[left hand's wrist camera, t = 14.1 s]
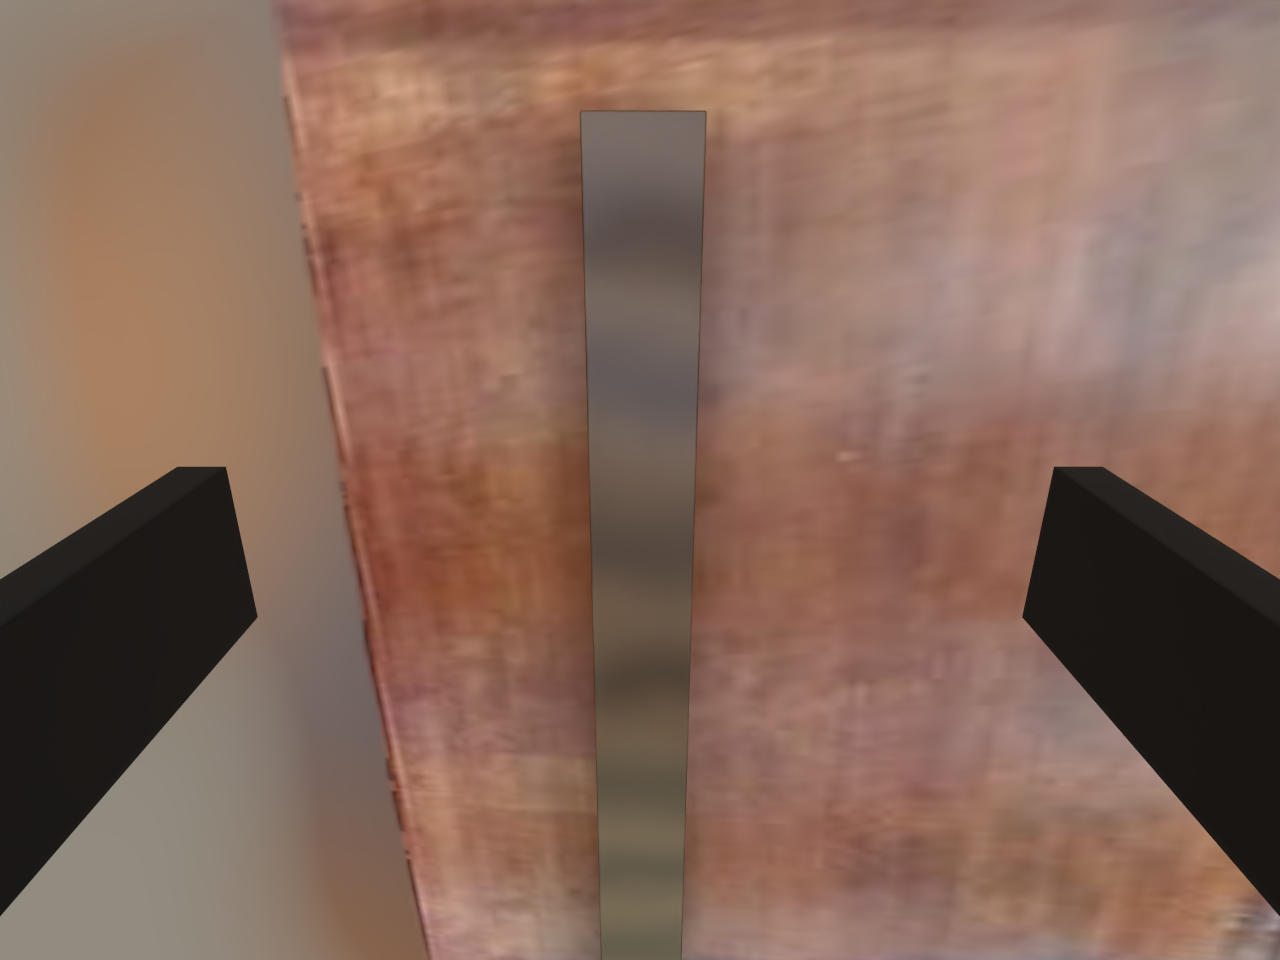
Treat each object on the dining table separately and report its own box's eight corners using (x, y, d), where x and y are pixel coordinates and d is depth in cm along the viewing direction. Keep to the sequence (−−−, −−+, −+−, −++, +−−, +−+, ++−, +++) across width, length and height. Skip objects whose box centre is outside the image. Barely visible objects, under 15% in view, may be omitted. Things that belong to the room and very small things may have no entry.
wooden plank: (592, 123, 35) (579, 110, 27) (692, 123, 35) (706, 110, 27) (610, 1018, 57) (605, 1147, 49) (671, 1018, 57) (675, 1147, 49)
